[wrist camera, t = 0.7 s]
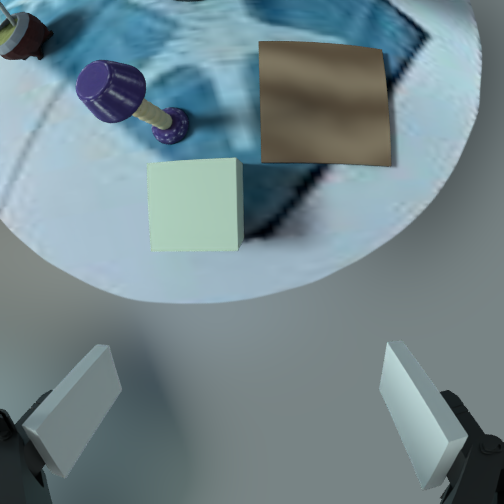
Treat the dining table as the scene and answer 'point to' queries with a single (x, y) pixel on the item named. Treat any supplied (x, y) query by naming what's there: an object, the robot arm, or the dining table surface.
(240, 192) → the sage block
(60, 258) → the dining table surface
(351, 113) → the walnut board
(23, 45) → the mate gourd
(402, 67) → the dining table surface
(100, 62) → the toy lamp
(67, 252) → the dining table surface
